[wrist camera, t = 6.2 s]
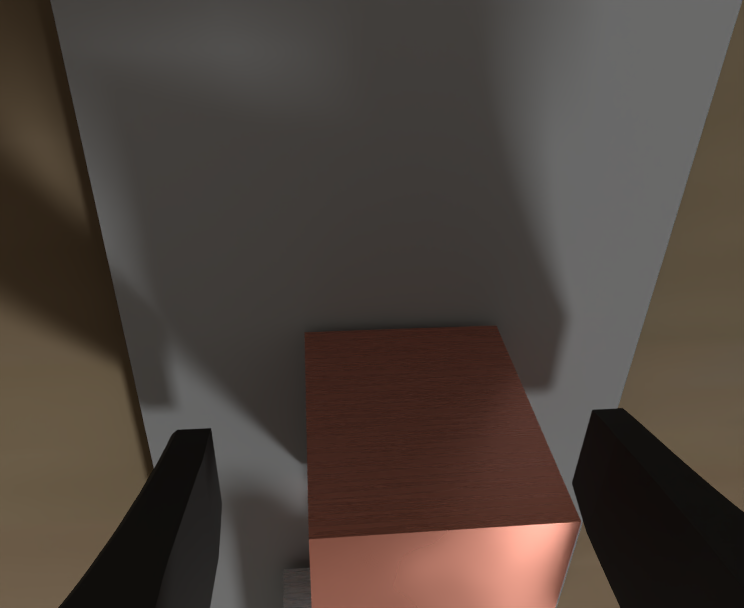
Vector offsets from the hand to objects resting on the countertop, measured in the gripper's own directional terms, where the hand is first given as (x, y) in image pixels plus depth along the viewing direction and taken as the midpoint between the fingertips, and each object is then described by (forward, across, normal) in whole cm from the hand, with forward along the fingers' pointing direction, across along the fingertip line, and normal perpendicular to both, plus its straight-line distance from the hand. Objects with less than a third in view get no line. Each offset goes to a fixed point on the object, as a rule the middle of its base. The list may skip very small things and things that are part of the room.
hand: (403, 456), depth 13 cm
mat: (+2, 0, 0) cm, 2 cm away
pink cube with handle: (+1, 0, +4) cm, 4 cm away
